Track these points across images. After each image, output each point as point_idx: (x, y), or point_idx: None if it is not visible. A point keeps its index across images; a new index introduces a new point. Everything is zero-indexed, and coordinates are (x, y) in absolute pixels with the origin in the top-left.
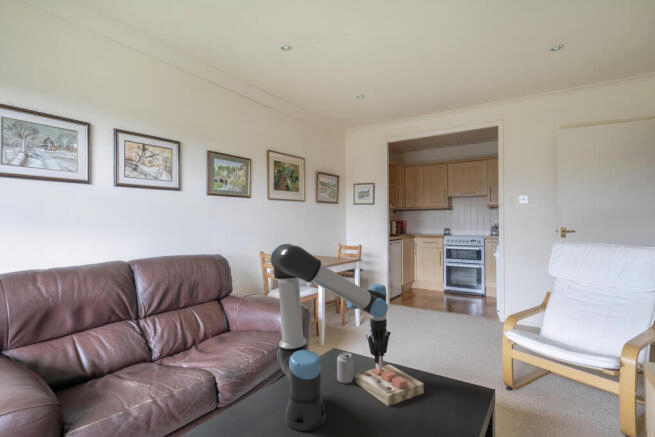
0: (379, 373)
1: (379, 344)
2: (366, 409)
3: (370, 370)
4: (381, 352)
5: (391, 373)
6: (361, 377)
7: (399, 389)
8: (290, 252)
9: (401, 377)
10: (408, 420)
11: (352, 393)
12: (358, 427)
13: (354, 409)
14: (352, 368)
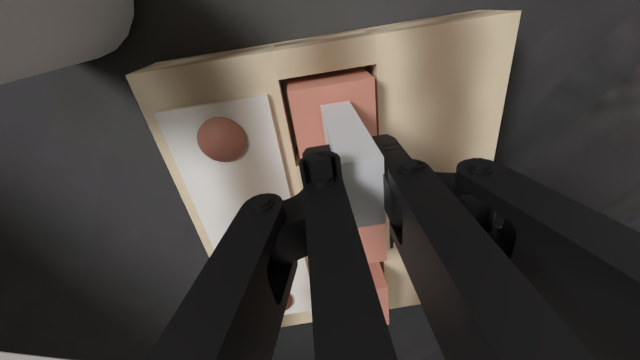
0: None
1: (449, 320)
2: (152, 291)
3: (285, 57)
4: (398, 251)
5: (364, 249)
6: (162, 145)
7: None
8: None
9: (385, 298)
10: (277, 354)
11: (105, 172)
12: (97, 351)
13: (96, 281)
14: (56, 56)
